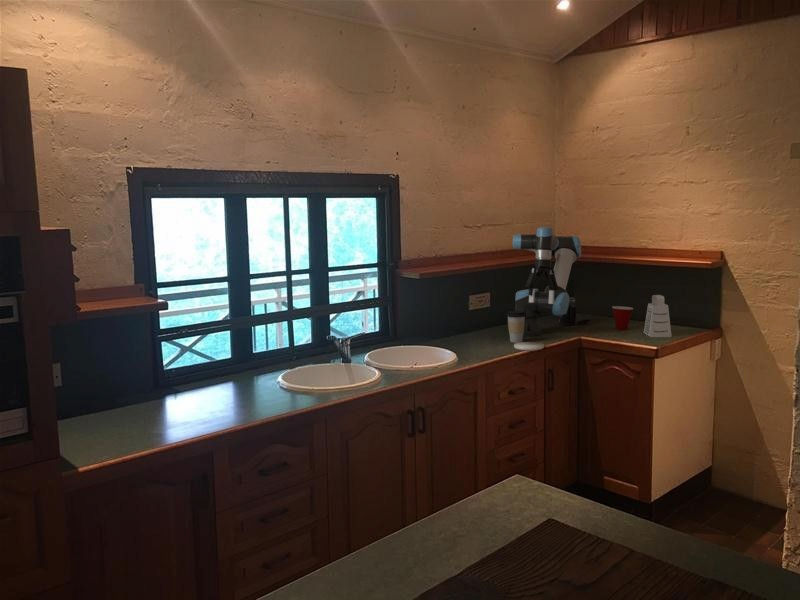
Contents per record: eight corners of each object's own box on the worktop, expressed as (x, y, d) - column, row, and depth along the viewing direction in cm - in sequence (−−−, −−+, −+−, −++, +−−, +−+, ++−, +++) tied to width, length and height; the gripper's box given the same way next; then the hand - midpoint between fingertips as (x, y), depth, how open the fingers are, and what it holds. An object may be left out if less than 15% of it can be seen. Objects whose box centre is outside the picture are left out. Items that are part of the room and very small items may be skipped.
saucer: (508, 348, 325) (508, 345, 324) (523, 343, 335) (523, 340, 335) (534, 351, 316) (534, 349, 315) (549, 346, 326) (549, 343, 326)
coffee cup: (512, 339, 346) (512, 309, 344) (529, 340, 341) (529, 311, 338) (503, 342, 339) (503, 312, 337) (520, 344, 333) (520, 313, 331)
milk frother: (554, 323, 387) (555, 297, 385) (576, 321, 394) (576, 295, 392) (572, 327, 374) (572, 300, 372) (594, 324, 382) (594, 298, 380)
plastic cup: (637, 329, 363) (637, 307, 361) (620, 331, 359) (621, 308, 357) (623, 326, 373) (623, 304, 371) (607, 328, 369) (607, 306, 367)
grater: (650, 337, 342) (651, 297, 339) (643, 333, 352) (644, 294, 350) (671, 336, 342) (672, 296, 339) (664, 332, 352) (665, 294, 349)
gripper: (530, 256, 323) (528, 302, 322) (566, 261, 337) (564, 304, 337) (519, 257, 329) (517, 301, 328) (555, 261, 343) (553, 304, 343)
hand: (541, 303), depth 332 cm, fingers open, 13 cm apart
